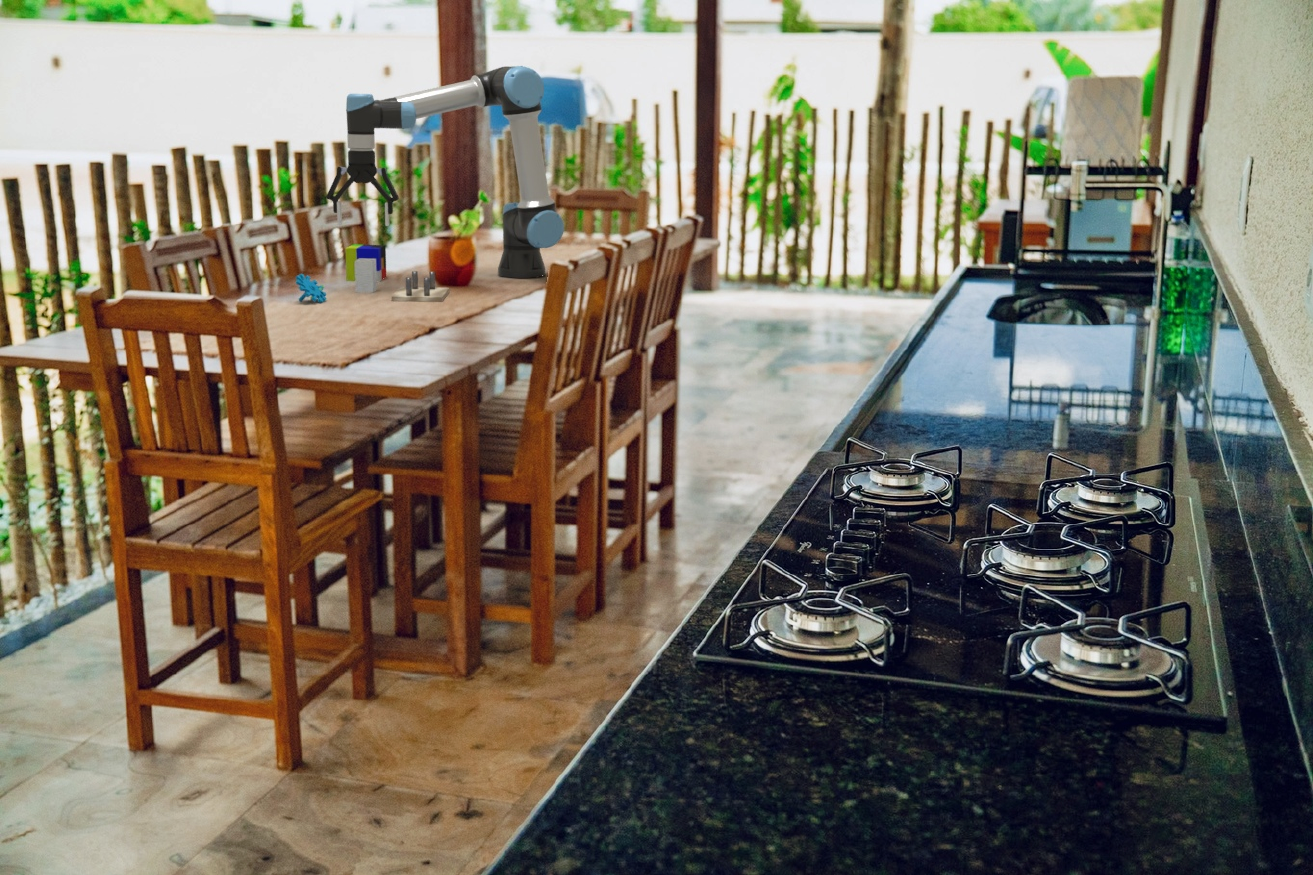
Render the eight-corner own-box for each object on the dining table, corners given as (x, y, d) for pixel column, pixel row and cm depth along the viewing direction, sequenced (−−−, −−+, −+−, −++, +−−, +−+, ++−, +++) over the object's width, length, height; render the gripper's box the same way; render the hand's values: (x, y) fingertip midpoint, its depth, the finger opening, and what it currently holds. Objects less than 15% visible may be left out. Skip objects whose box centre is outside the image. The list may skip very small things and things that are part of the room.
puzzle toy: (379, 281, 403) (378, 249, 401) (346, 281, 403) (345, 248, 401) (386, 277, 413) (385, 245, 410) (354, 276, 413) (353, 244, 411)
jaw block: (377, 289, 389) (376, 258, 386) (373, 292, 382) (372, 261, 380) (359, 289, 389) (358, 258, 386) (355, 292, 382) (354, 261, 379)
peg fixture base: (449, 291, 386) (448, 270, 385) (442, 301, 369) (441, 279, 367) (401, 291, 386) (400, 270, 384) (391, 300, 368) (390, 278, 367)
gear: (313, 299, 357) (292, 271, 359) (299, 314, 359) (278, 286, 361) (336, 299, 368) (316, 272, 369) (323, 313, 370) (302, 286, 371)
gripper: (407, 150, 379) (409, 224, 384) (319, 148, 378) (322, 222, 383) (403, 151, 372) (405, 227, 377) (314, 149, 371) (317, 225, 376)
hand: (363, 225), depth 380 cm, fingers open, 13 cm apart
